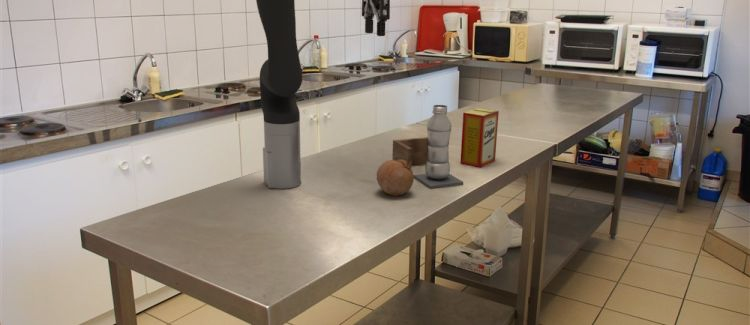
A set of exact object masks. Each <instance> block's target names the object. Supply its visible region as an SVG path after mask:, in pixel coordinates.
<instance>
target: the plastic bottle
mask: <svg viewBox="0 0 750 325" xmlns="http://www.w3.org/2000/svg"><path fill="white" fill-rule="evenodd" d="M447 114H448V105H444V104H434V105H433V107H432V115H431V117H430V118H429V119H428V121H427V123H426V131H427V137H428V157H427V162H426V164H425V174H426V175H427V176H428V177H429V178H432V179H445V178H447V177H448V176H449V174H450V172H451V165H450V161H449V160H450V157H449V145H450V138H451V132H452V123H451V121H450V119H449V117H448V116H447Z"/></svg>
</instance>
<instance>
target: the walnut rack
mask: <svg viewBox="0 0 750 325" xmlns="http://www.w3.org/2000/svg"><path fill="white" fill-rule="evenodd" d="M427 157H428V136H423V137H422V136H421V137H415V138H414V137H412V138H403V139H402V138H401V139H393V140H392V159H391V160H406V161H407V163H408V164H409V165H410V168H411V169H412V166H413V167H414V166H422V165H426V162H427Z"/></svg>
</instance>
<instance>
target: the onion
mask: <svg viewBox="0 0 750 325" xmlns="http://www.w3.org/2000/svg"><path fill="white" fill-rule="evenodd" d="M414 175H415V174H414V171H413V170H412V167H411V168H410V165H409V164H408V163H407V161H406V160H392V159H391V160H389V159H388V160H386V161H384V162H382V164H380V165H379V167H378V169H377V172H376V182H377V184H378V185H379V187H380V189H381V190H382V191H383V192H384V193H385V194H386V195H390V196H391V197H398V196H402V195H403V194H406V193H407V192H408V191H410V189H411V187H412V186H413V184H414V179H415V178H414Z"/></svg>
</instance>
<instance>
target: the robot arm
mask: <svg viewBox="0 0 750 325" xmlns="http://www.w3.org/2000/svg"><path fill="white" fill-rule="evenodd" d="M255 1H256V7H257V11H258V14H259V18H260V21H261V25H262V28H263V31H264V34H265V39H266V44H267V60H265V61H264V62H263V64H262V66H261V67H260V70H259V71H260V72H259V94H260V105H261V106H260V107H261V110H262V115H263V134H264V136H263V137H264V147H262V161H263V162H262V163H263V167H262V168H263V182H264V184H265V185H266V187H268V189H278V190H279V189H281V190H283V189H293V188H295V187H298V186H300V185H301V183H302V171H301V163H302V162H301V121H300V119H301V118H300V117H301V114H300V109H299V107H298V104H297V99H296V93H298V91H299V90H300V88H301V86H302V83H303V72H302V65H301V60H300V59H301V58H300V55H299V49H298V43H297V42H298V41H297V30H296V29H297V26H296V25H297V24H296V22H297V21H296V8H295V7H296V5H295V3H296V2H295V0H255ZM390 6H391V1H390V0H361V17H363V18H364V32H365V34H373V33H374V17H375V19H376V36H377V37H385V36H386V22H387V21H388V20H390V19H391V7H390Z"/></svg>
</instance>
